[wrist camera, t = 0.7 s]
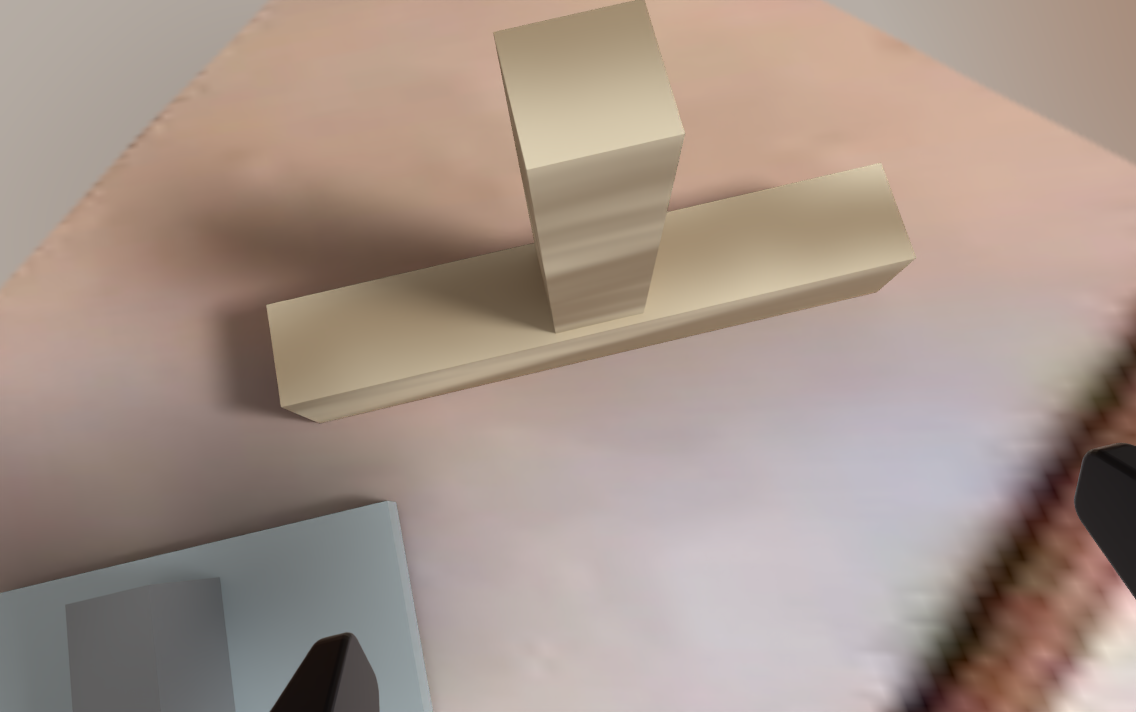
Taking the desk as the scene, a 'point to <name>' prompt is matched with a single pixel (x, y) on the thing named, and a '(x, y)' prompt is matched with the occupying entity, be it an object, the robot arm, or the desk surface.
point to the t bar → (588, 242)
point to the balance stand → (217, 622)
